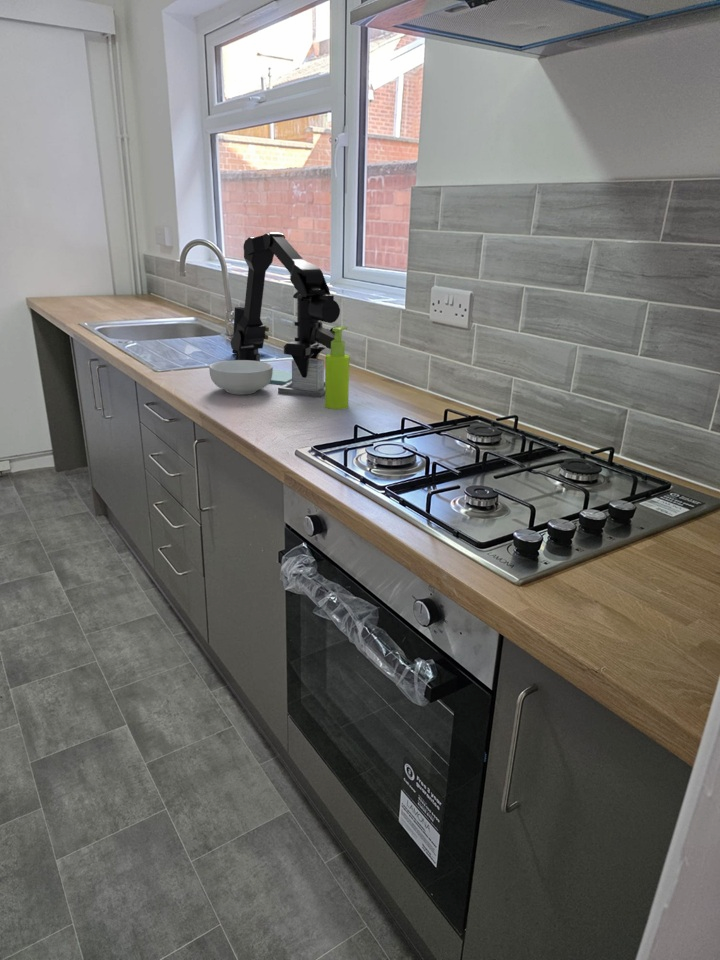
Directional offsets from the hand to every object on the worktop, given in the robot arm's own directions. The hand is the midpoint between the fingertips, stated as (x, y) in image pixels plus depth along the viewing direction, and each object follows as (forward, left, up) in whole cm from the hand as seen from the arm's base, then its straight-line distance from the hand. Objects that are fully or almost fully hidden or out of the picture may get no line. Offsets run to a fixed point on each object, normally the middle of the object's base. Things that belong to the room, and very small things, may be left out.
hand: (307, 375), depth 178 cm
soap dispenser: (+13, -12, -4) cm, 18 cm away
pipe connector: (-38, +38, -5) cm, 54 cm away
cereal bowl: (-16, -8, -5) cm, 18 cm away
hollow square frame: (0, 0, -4) cm, 4 cm away
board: (-14, +9, -4) cm, 17 cm away
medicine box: (0, 0, -4) cm, 4 cm away
